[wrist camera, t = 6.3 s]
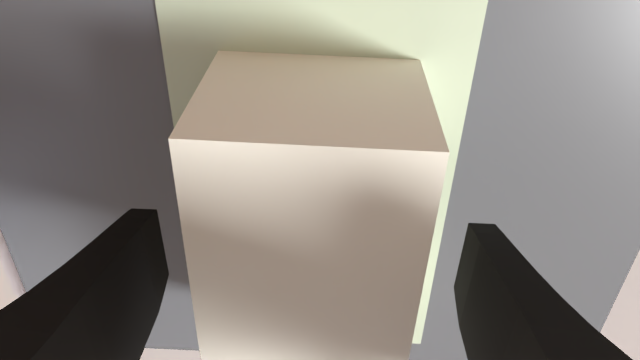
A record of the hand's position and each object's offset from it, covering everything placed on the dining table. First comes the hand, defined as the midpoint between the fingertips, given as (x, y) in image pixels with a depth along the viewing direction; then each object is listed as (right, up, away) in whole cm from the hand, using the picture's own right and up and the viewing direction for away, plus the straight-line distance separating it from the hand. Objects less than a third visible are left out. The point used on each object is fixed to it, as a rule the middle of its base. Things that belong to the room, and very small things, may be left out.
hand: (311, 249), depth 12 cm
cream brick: (0, +1, +2) cm, 2 cm away
